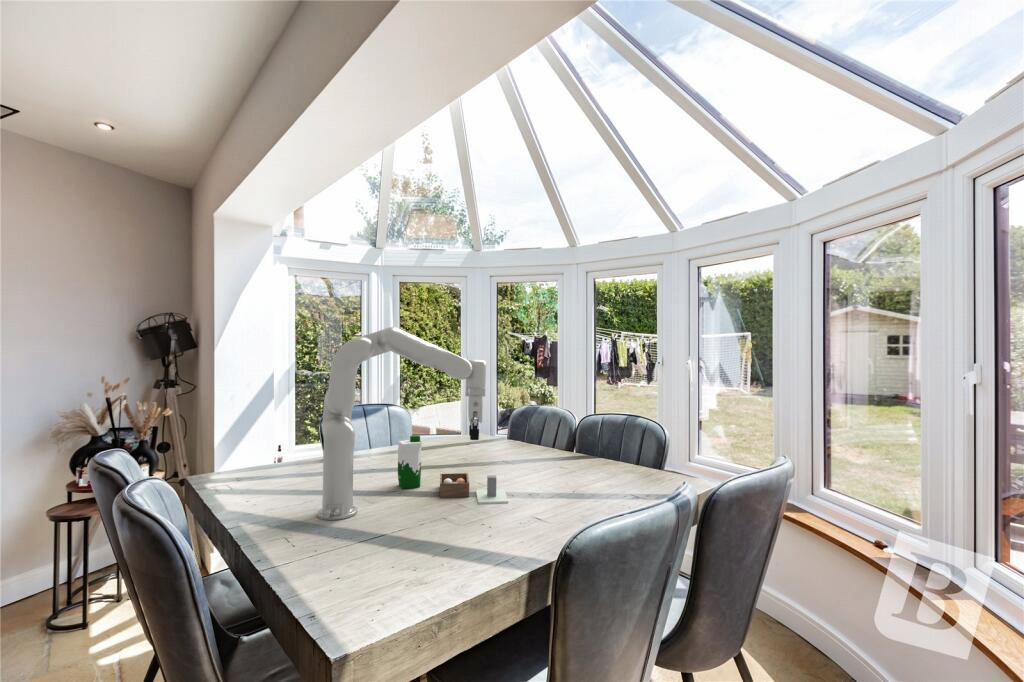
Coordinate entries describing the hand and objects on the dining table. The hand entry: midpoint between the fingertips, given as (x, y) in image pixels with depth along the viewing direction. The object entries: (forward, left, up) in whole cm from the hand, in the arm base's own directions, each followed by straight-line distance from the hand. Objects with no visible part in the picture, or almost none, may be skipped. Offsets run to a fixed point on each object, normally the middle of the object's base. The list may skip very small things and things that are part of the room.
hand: (473, 437), depth 178 cm
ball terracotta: (+11, +4, -20) cm, 23 cm away
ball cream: (+11, +9, -20) cm, 24 cm away
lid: (-1, -7, -23) cm, 24 cm away
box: (+8, +7, -22) cm, 25 cm away
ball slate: (+5, +7, -20) cm, 22 cm away
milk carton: (+17, +25, -22) cm, 37 cm away
